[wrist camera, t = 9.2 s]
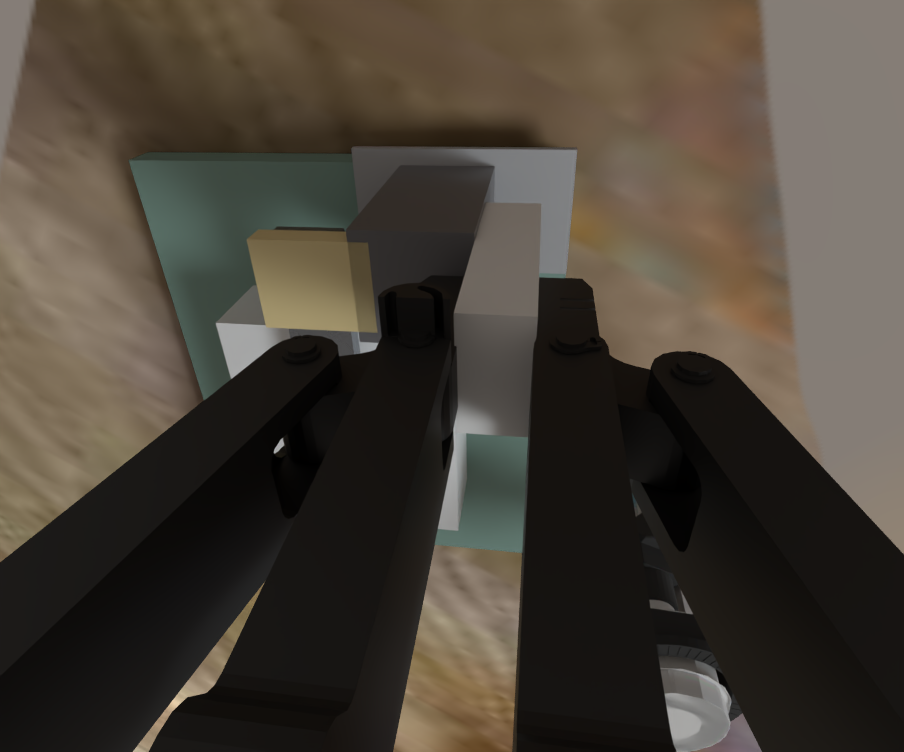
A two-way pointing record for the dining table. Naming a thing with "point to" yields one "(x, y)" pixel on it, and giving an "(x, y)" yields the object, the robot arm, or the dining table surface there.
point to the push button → (684, 657)
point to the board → (336, 206)
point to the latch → (372, 250)
